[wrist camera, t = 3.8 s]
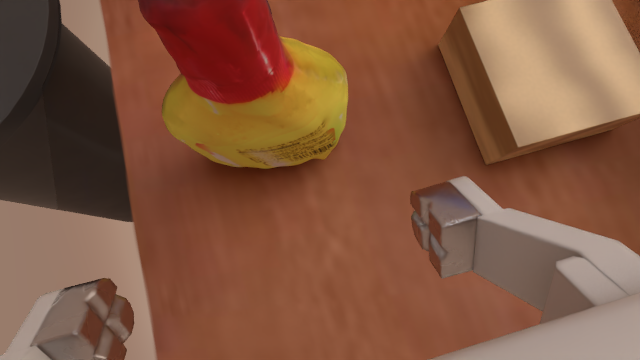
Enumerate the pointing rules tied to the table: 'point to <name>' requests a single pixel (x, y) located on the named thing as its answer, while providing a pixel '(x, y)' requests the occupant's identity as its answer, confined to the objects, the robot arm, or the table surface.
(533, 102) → the birch block
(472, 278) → the table surface
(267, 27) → the bottle
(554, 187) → the table surface
